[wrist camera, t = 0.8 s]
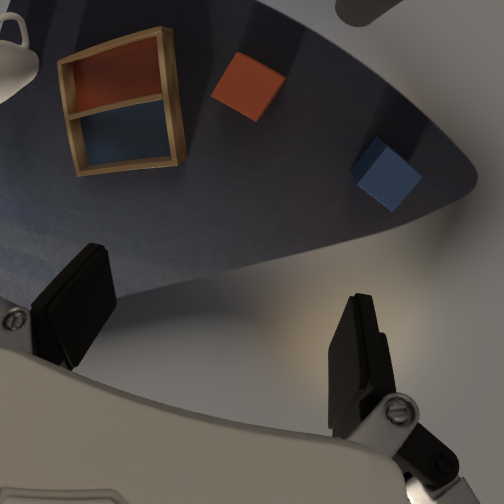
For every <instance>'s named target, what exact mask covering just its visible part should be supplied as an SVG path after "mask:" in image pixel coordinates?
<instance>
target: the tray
mask: <svg viewBox="0 0 504 504" xmlns="http://www.w3.org/2000/svg"><path fill="white" fill-rule="evenodd" d="M57 64H58V74H59V82H60V89H61V97H62V103H63V110H64V116H65V121H66V127H67V132H68V137H69V142H70V147H71V152H72V156H73V161H74V165H75V169H76V173H77V177H80V176H87V175H94V174H101V173H109V172H117V171H126V170H135V169H145V168H155V167H166V166H178V165H179V164H180V163H182V162H183V161H184V160H185V159H187V158H188V157H187V150H186V142H185V135H184V127H183V119H182V111H181V103H180V94H179V85H178V76H177V67H176V57H175V46H174V35H173V29H172V28H167V27H163V26H159V27H155V28H151V29H147V30H143V31H140V32H136V33H133V34H129V35H126V36H123V37H120V38H116V39H113V40H110V41H107V42H104V43H102V44H99V45H96V46H93V47H91V48H88V49H85V50H83V51H80V52H78V53H75V54H73V55H70V56H68V57H66V58H63V59H61V60H59V61H57Z"/></svg>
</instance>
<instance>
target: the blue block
mask: <svg viewBox="0 0 504 504" xmlns="http://www.w3.org/2000/svg"><path fill="white" fill-rule="evenodd" d="M351 172H352V174H353V176H354V179H355V181H356V183H357V185H358V186H359V187H361V188H362V189H363V190H365V191H366V192H367V193H369V194H370V195H371V196H373V197H374V198H375V199H377V200H378V201H379V202H380V203H382V204H383V205H384V206H385V207H387V208H388V209H389V210H390V211H392V212H393V211H394V210H395V209H396V208H397V207H398V206H399V204H400V203H401V202H402V201H403V200H404V198H405V197H406V196H407V195H408V194H409V193H410V191H411V190H412V189H413V188H414V187H415V185H416V184H417V183H418V182H419V180H420V179H421V178H422V175H421V174H420V173H419V172H417V171H416V170H415V169H414V168H413V167H412V166H411V165H410V164H409V163H408V162H407V161H406V160H405V159H404V158H402V157H401V156H400V155H399V154H398V153H397V152H395V151H394V150H393V149H392V148H391V147H389V146H388V145H387V144H386V143H385V142H383V141H382V140H381V139H380V138H378V137H377V136H376V137H375V139H374V140H373V141H372V143H371V144H370V145H369V146H368V148H367V149H366V150H365V152H364V153H363V154H362V156H361V157H360V158H359V159H358V161H357V162H356V163H355V165H354V166H353V167H352V168H351Z"/></svg>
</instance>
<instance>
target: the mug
mask: <svg viewBox="0 0 504 504" xmlns="http://www.w3.org/2000/svg"><path fill="white" fill-rule="evenodd" d="M7 19H16V20H17V21H18V23H19V26H20V29H21V34H22V39H23V41H22V45H18V44H15V43H12V42H9V41H4V40H0V103H2V102H4V101H5V100H7V99H8V98H10V97H11V96H12V95H14V94H15V93H16V92H17V91H19V90H20V89H21V88H23V87H24V86H25V85H27V84H28V83H29V82H31V81H32V80H33V79H34V78H35V76H36V75H37V72H38V69H39V58H38V56H37V54H36V53H35V52H33V51H31V50H29V49H28V48H29V38H28V32H27V28H26V24H25V22H24V20H23V18H22V17H21V16H20V15H18V14H16V13H12V12H8V13H3V14H0V23H1V22H2V21H4V20H7Z"/></svg>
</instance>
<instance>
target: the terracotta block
mask: <svg viewBox="0 0 504 504" xmlns="http://www.w3.org/2000/svg"><path fill="white" fill-rule="evenodd" d="M286 79H287V78H286V77H285V76H283V75H281V74H279V73H278V72H276V71H274V70H273V69H271V68H269V67H267V66H266V65H264V64H262V63H260V62H258V61H257V60H255V59H253V58H251V57H249V56H247V55H245V54H242V53H239V52H237V53H236V55H235V56H234V58H233V59H232V61H231V63H230V64H229V66H228V68H227V69H226V71H225V73H224V74H223V76H222V78H221V79H220V81H219V83H218V84H217V86H216V88H215V89H214V91H213V93H212V95H211V96H212V97H214V98H215V99H217V100H219V101H221V102H223V103H225V104H226V105H228V106H230V107H232V108H233V109H235V110H237V111H239V112H240V113H242V114H244V115H245V116H247V117H249V118H251V119H252V120H254V121H257V120H258V119H259V118H260V117H261V116H262V115H263V114H264V112H265V111H266V109H267V108H268V106H269V105H270V103H271V102H272V100H273V99H274V97H275V96H276V94H277V93H278V91H279V90H280V88H281V87H282V85H283V84H284V82H285V81H286Z"/></svg>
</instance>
